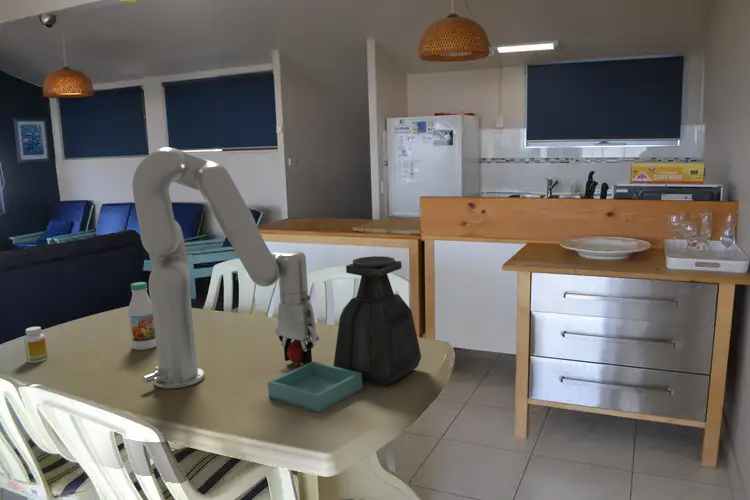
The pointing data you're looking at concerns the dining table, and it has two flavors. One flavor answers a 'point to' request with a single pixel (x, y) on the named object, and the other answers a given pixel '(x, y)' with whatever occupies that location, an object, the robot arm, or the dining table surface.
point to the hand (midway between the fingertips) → (298, 360)
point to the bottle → (376, 326)
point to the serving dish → (315, 386)
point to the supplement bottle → (35, 345)
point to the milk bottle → (141, 318)
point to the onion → (295, 352)
